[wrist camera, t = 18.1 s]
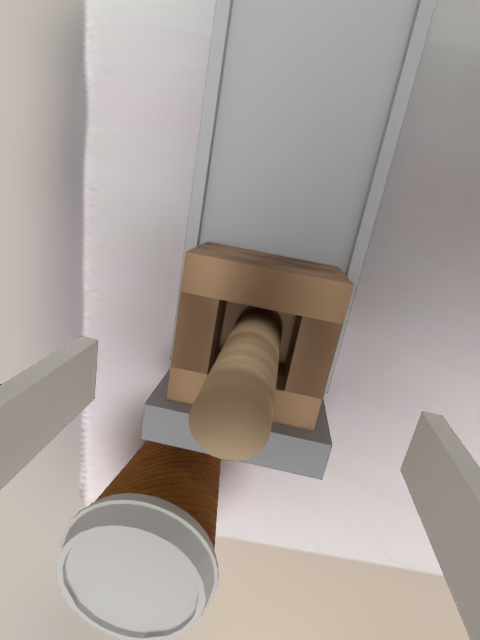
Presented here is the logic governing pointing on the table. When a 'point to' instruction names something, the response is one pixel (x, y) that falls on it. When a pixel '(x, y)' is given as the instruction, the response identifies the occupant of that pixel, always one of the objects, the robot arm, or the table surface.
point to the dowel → (240, 389)
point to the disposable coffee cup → (146, 547)
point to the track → (296, 157)
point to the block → (269, 293)
